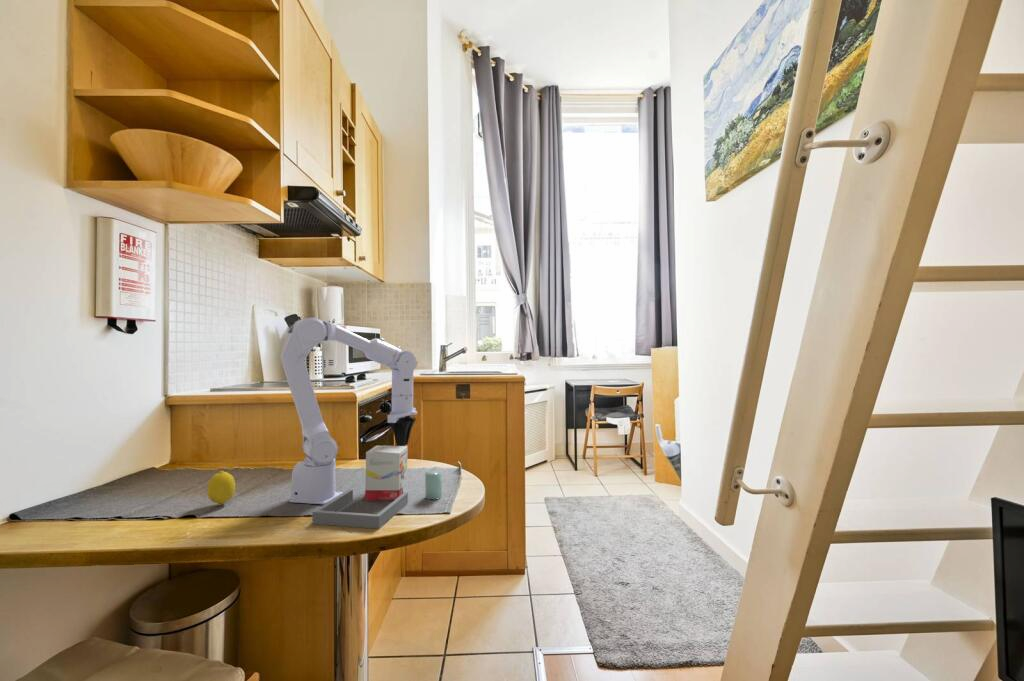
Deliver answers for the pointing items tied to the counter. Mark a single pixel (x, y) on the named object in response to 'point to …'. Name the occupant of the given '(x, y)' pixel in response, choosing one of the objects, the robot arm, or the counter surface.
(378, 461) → the ink box
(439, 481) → the teal ceramic jar
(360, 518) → the tray
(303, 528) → the counter surface
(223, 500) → the lemon
